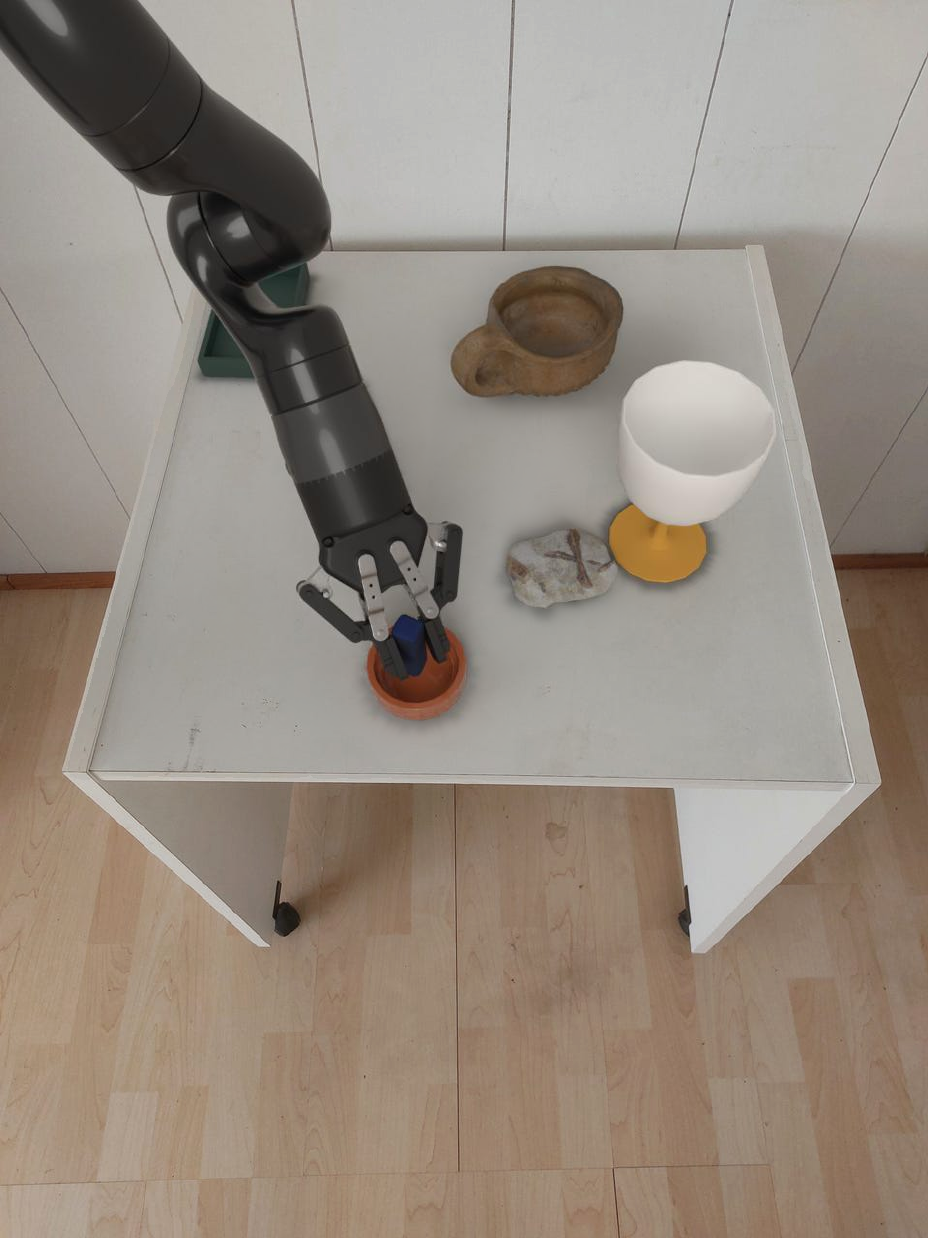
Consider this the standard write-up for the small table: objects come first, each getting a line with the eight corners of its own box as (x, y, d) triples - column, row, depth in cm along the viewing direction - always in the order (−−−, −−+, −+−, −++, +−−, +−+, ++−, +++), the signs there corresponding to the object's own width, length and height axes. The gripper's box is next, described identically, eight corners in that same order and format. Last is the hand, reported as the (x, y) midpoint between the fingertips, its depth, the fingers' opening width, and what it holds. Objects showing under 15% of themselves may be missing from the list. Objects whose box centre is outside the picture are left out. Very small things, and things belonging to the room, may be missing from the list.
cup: (584, 495, 82) (608, 364, 67) (705, 485, 82) (756, 353, 67) (605, 601, 76) (636, 485, 61) (734, 590, 77) (797, 471, 62)
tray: (289, 379, 89) (285, 363, 87) (203, 376, 90) (196, 360, 88) (310, 278, 96) (306, 261, 94) (230, 276, 97) (225, 259, 95)
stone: (594, 529, 80) (597, 513, 78) (624, 594, 77) (628, 579, 74) (497, 556, 79) (497, 540, 76) (523, 622, 75) (524, 608, 73)
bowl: (536, 460, 82) (518, 373, 74) (439, 413, 90) (414, 330, 82) (652, 359, 88) (646, 269, 80) (551, 324, 96) (537, 239, 88)
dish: (365, 720, 71) (361, 706, 69) (376, 633, 75) (372, 617, 72) (463, 725, 71) (462, 711, 68) (469, 637, 75) (468, 621, 72)
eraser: (418, 680, 70) (413, 643, 64) (394, 669, 71) (388, 631, 65) (430, 659, 71) (427, 621, 65) (407, 648, 72) (401, 609, 66)
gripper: (254, 500, 57) (349, 722, 62) (443, 426, 59) (517, 644, 65) (245, 490, 63) (331, 691, 69) (414, 424, 66) (484, 622, 72)
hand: (421, 667), depth 67 cm, fingers closed on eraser, 2 cm apart
